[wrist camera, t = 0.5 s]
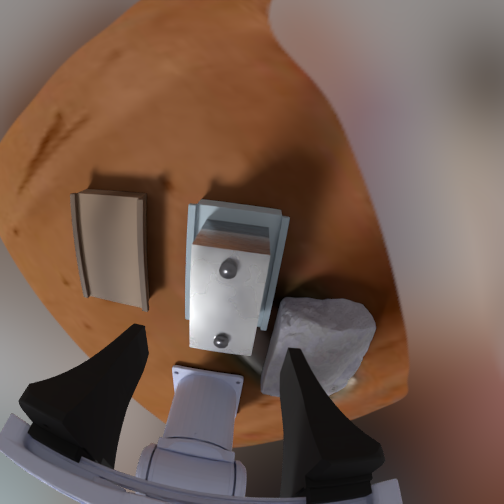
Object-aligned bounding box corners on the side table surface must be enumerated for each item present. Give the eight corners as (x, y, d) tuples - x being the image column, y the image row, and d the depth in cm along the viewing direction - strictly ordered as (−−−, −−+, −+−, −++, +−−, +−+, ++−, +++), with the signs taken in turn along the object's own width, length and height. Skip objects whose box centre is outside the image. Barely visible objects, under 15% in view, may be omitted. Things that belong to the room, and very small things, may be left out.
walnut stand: (152, 193, 20) (142, 199, 18) (154, 299, 24) (147, 311, 22) (82, 188, 20) (70, 194, 18) (92, 286, 24) (83, 296, 22)
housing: (253, 316, 23) (250, 359, 18) (201, 309, 22) (188, 349, 18) (268, 227, 19) (270, 257, 15) (206, 218, 19) (190, 246, 15)
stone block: (367, 289, 25) (271, 290, 23) (392, 319, 21) (286, 329, 19) (332, 366, 31) (253, 374, 28) (346, 396, 26) (261, 409, 24)
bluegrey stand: (287, 210, 20) (289, 218, 18) (266, 317, 24) (266, 330, 23) (194, 198, 20) (188, 204, 18) (190, 306, 24) (185, 319, 22)
